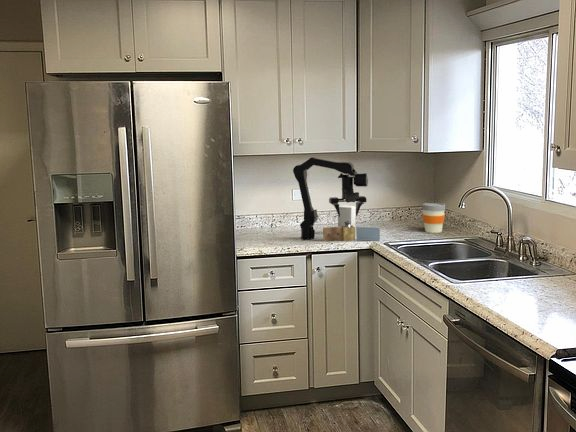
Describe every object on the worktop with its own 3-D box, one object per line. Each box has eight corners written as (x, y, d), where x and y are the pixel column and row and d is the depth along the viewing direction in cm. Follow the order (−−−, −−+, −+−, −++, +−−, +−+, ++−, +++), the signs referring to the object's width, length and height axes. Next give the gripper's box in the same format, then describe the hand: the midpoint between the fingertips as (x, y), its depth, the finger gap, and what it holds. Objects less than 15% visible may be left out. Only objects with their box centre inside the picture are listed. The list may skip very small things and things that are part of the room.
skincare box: (337, 234, 339) (336, 206, 336) (342, 232, 345) (341, 205, 342) (351, 235, 335) (351, 207, 333) (356, 233, 341) (355, 205, 338)
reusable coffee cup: (440, 233, 333) (440, 206, 331) (418, 232, 340) (418, 205, 338) (448, 230, 344) (448, 203, 341) (426, 228, 351) (427, 202, 348)
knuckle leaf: (324, 242, 319) (324, 228, 318) (322, 239, 325) (322, 226, 324) (355, 240, 321) (354, 227, 320) (352, 238, 327) (352, 225, 326)
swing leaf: (356, 239, 322) (356, 227, 321) (356, 239, 323) (356, 226, 322) (379, 240, 318) (379, 227, 317) (379, 240, 319) (379, 227, 318)
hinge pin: (345, 240, 322) (345, 222, 320) (343, 239, 325) (343, 221, 324) (352, 240, 322) (352, 222, 321) (350, 239, 326) (350, 220, 324)
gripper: (332, 188, 310) (333, 219, 313) (369, 187, 313) (369, 217, 315) (328, 186, 321) (329, 216, 324) (363, 185, 324) (363, 214, 326)
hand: (347, 216), depth 322 cm, fingers open, 9 cm apart
